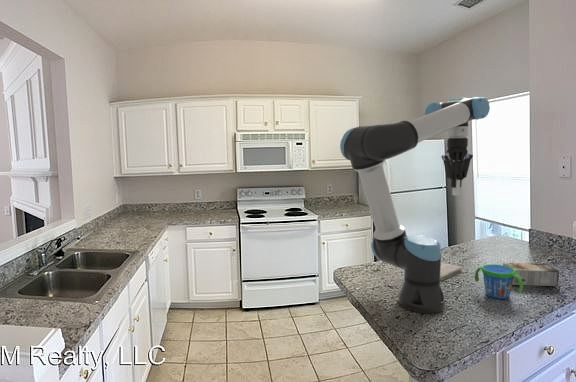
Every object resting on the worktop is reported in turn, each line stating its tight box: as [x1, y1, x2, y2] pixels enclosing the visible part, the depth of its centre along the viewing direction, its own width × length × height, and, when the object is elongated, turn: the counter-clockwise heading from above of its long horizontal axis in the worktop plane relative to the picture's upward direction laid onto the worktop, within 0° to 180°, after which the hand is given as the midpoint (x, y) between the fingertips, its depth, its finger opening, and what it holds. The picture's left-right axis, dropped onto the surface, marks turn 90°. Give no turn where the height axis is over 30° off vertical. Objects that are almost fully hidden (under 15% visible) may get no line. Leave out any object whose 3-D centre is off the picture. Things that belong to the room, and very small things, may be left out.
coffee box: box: [502, 262, 560, 287], centre depth 140 cm, size 9×6×16 cm
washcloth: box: [440, 261, 463, 282], centre depth 155 cm, size 12×18×3 cm, turn 129°
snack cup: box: [474, 264, 524, 300], centre depth 129 cm, size 16×10×10 cm
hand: (455, 195), depth 147 cm, fingers closed
